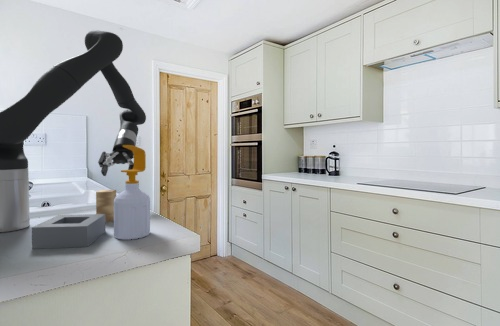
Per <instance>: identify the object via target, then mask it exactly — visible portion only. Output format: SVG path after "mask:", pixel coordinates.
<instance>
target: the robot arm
mask: <svg viewBox="0 0 500 326" xmlns="http://www.w3.org/2000/svg"><path fill="white" fill-rule="evenodd" d="M123 44H124V43H123V40H122V39H121V37H120V36H119V35H117V34H116V33H114V32H110V31H105V30H98V29H96V30H95V29H92V30H89V31H88V32H86V34H85V36H84V45H85V49H86V51H85V52H83V53H81V54H78V55H75V56H73V57H69V58H68V59H65V60H63V61H60V62H58V63H57V64H55V65H53V66H52V67H51V68H49V69H48V70H47V71H46V72H45V73H43V74H42V75H41V76H40V77H39V78H38V79H37V81H36V82H35V83H34V84H33V85H32V86H31V89H30V90H29V91H28V93H27V94H26V95H24V97H22V98H20V99H19V100H18V101H16V102H15V103H14V104H12V105H10V106H9V107H7V108H6V109H3V110H2V111H0V233H7V232H13V231H19V230H22V229H26V228H28V227H29V226H31V224H30V223H31V222H30V221H31V218H30V186H29V185H30V184H29V181H30V179H29V178H30V177H29V161H28V160H29V159H28V158H27V156H26V155H25V151H24V142H25V141H26V140H27V139H28V138H29V137H30V136H31V135H32V134H33V132H34V131H35V130H36V129H37V128H38V127H39V125H40V124H41V123H42V122H43V121H44V120H45V119H46V118H47V117H48V116H49V115H50V114H52V113H53V112H54V111H55V110H56V109H58V108H59V107H60V106H62V105H63V104H64V103H65V102H67V101H68V100H69V99H71V98H72V97H73V96H74V95H75V94H76V93H77V92H79V91H80V89H81V88H82V87H83V86H84V85H85V84H87V83H88V82H89V81H90V80H92V78H93V77H95V76H96V75H97V74H98V73H99V72H101V74H102V75H103V77H104V79H105V81H106V83H107V84H108V85H109V88H110V90H111V92H112V94H113V96H114V99H115V101H116V103H117V106H118V107H119V108H121V109H123V110H122V111H121V112H120V113H119V120H120V128H119V131H118V133H117V135H116V137H115V141H114V144H113V146H112V149H111V151H110V153H107V152H106V151H102V153H101V155H100V157H99V160H98V162H97V163H98V165H99V168H101V171H100V172H101V175H102V176H103V177H106V176H107V173H108V171H109V168H110V167H113V166H114V165H120V164H121V165H125V164H127V165H128V168H127V170H131V169H133V167H134V161H132V160H134V154H133V151H131V150H129V149H127V148H124V147H122V146H123V145H133V146H136V145H137V139H138V133H139V126H141V125H143V124H145V123H146V121H147V115H146V112H145V111H144V109H143V107H141V105H140V104H139V103H138V101H137V100H136V98H135V97H134V94H133V91H132V88H131V87H130V86H131V85H130V84H129V83H128V82H127V80H126V78H125V77H124V76H123V74H121V73H120V72H119V70H118V69H117V68H116V66H115V64H114V63H113V62H114V61H116V60H117V59H118V58H119V57H120V56H121V55H122V52H123V48H124V45H123Z"/></svg>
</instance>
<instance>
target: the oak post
mask: <svg viewBox="0 0 500 326" xmlns="http://www.w3.org/2000/svg"><path fill="white" fill-rule="evenodd" d="M116 196H117V189H101V190H100V189H99V190H97V191H96V192H95V200H96V201H95V202H96V203H95V204H96V205H95V209H96V210H95V211H96V214H105V223H111V222H112V223H113V222H114V199H115V197H116Z"/></svg>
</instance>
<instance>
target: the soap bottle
mask: <svg viewBox="0 0 500 326" xmlns="http://www.w3.org/2000/svg"><path fill="white" fill-rule="evenodd" d="M122 147H124V148H127V149H129V150H131V151H133V154H134V158H133V163H134V167H133V169H131V170H128V169H123V170H120V172H121V173H126V176H128V180H125V187H124V188H125V189H124V190H123V191H121V192H119V193H118V194H116V197H115V199H114V220H113V236H114V238H115V239H118V240H124V241H125V240H126V241H128V240H129V241H132V240H138V238H139V239H142V238H145V237H147V236H148V235H150V232H151V198H150V196H149V194H147V193H146V192H145V191H142V190H141V189H140V188H139V187H140V183H139V181H140V180H138V179H137V180H136V176H138V173H142V172H144V171H145V170H146V168H147V167H146V166H147V165H146V162H147V161H146V151H145V149H143V148H141V147H138V146H136V145H135V146H133V145H123V146H122ZM131 239H132V240H131Z"/></svg>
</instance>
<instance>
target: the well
mask: <svg viewBox="0 0 500 326" xmlns="http://www.w3.org/2000/svg"><path fill="white" fill-rule="evenodd" d="M105 232H106V222H105V214H95V213H93V214H92V213H91V214H89V213H88V214H58V215H56V216H53V217H52V218H49V219H46V220H44V221H43V222H42V221H41V222H40V223H38V224H35V225H33V226H31V249H34V250H35V249H53V248H55V249H58V248H59V249H60V248H84V247H85V248H86V247H87V248H88V247H89V246H90V245H91V244H92V243H93V242H95V241H96V240H98V238H100V237H101V236H102V235H103V234H105Z"/></svg>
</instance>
